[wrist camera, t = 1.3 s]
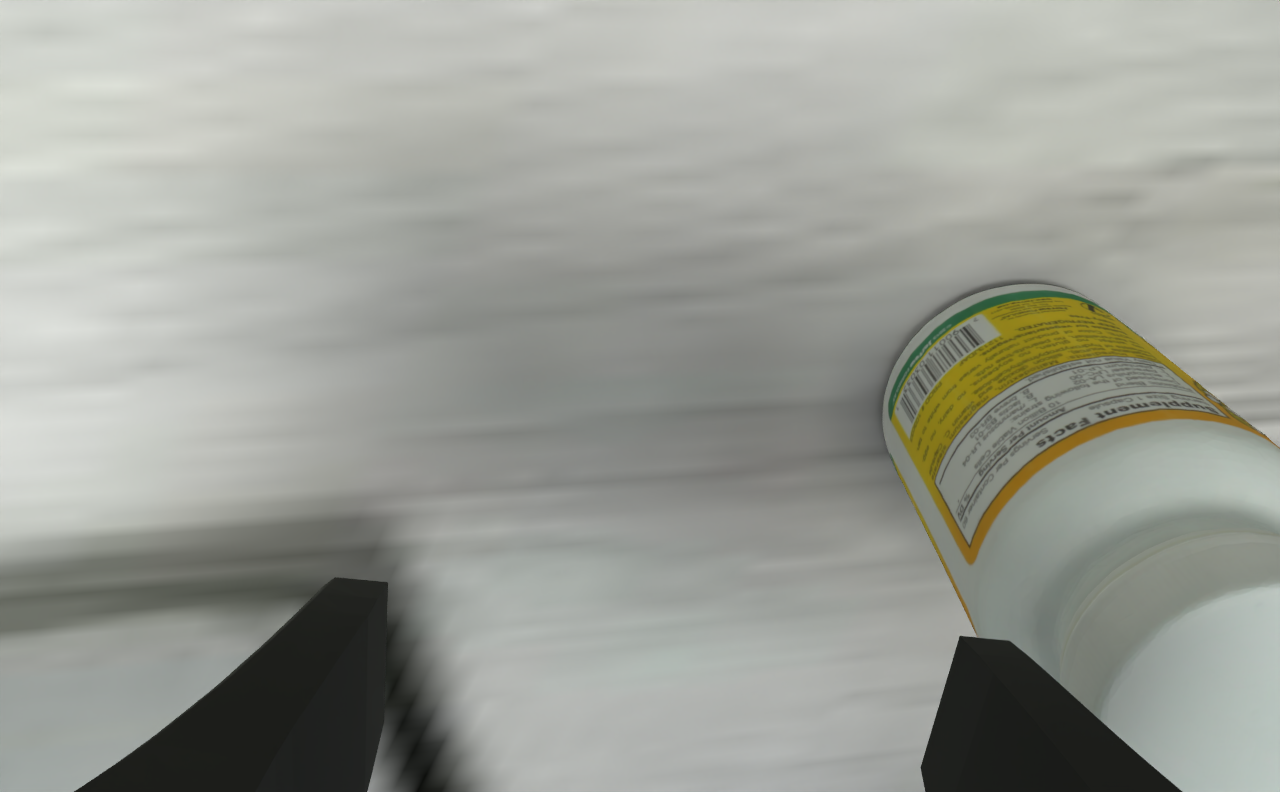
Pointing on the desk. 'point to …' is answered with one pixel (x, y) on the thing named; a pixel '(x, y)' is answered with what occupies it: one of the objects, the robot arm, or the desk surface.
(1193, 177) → the desk surface
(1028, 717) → the robot arm
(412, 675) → the desk surface
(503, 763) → the desk surface
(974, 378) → the supplement bottle
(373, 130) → the desk surface
